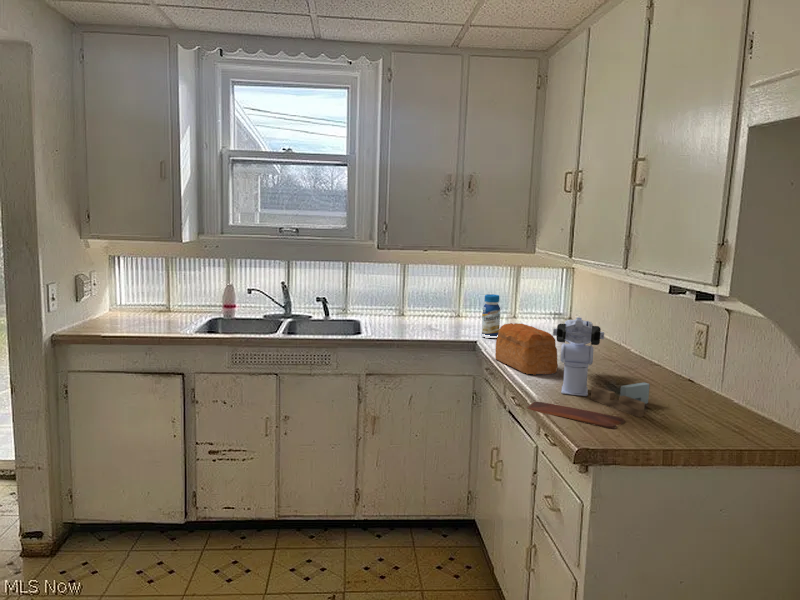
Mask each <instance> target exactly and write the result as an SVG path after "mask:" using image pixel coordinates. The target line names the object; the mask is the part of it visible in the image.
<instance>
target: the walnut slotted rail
mask: <svg viewBox="0 0 800 600" xmlns="http://www.w3.org/2000/svg"><path fill="white" fill-rule="evenodd" d="M615 396H616V392H615V391H611V390H610V389H609V390H608V389H606V388H603V387H600V386H597V385H595V386H591V392H590V400H592V401H594V402H597V403H600V404H603V405H605V406H607V407H611V408H612V409H615V410H619V411H621V412H624V413H626V414H629V415H632V416H635V417H637V418H641V417H642V418H643V417H644V416H645V406H646V404H645V402H642V401H639V400H636V399H633V398H630V397H627V396H620V395H619V396H618V399H616V397H615Z"/></svg>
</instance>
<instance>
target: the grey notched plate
mask: <svg viewBox="0 0 800 600" xmlns="http://www.w3.org/2000/svg"><path fill="white" fill-rule="evenodd" d="M619 396H627V397H630V398H633V399H636V400H639V401H642V402H645V405H646V404H649V396H650V383H647V382H637V383H631V384H625V385H620V392H619Z"/></svg>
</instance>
